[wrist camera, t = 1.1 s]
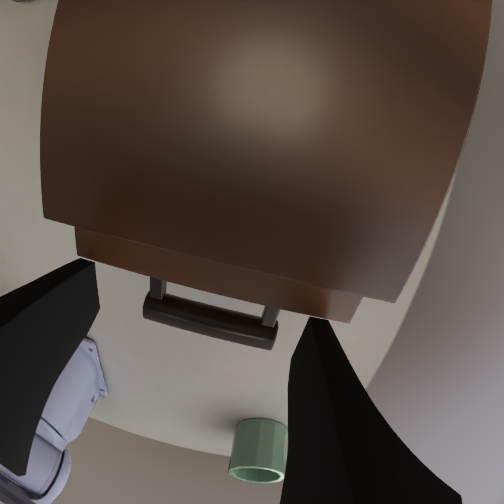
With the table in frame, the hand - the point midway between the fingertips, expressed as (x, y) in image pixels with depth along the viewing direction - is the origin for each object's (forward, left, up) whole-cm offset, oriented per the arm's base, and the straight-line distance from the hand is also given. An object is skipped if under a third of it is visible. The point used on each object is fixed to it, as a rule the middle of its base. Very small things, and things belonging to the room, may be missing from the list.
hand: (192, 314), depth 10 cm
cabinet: (+9, 0, -8) cm, 13 cm away
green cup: (-23, -7, -8) cm, 25 cm away
